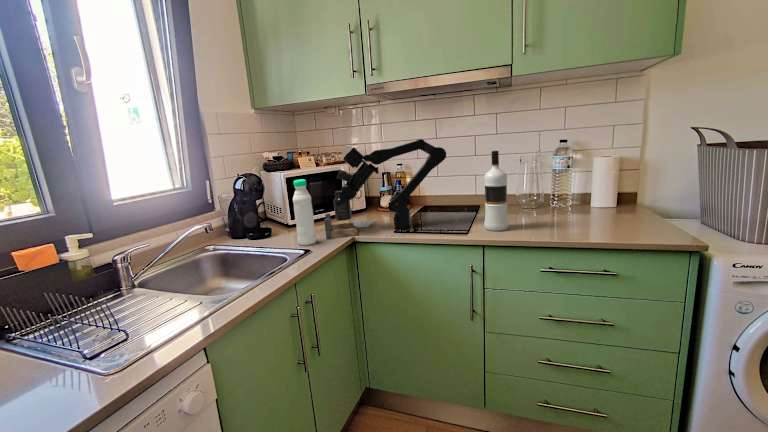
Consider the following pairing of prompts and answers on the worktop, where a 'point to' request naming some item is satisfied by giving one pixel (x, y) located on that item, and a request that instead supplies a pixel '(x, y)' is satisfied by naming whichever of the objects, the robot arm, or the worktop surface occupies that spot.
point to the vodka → (496, 197)
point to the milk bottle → (303, 214)
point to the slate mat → (362, 224)
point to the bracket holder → (338, 229)
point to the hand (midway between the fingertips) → (338, 203)
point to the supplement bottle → (342, 208)
